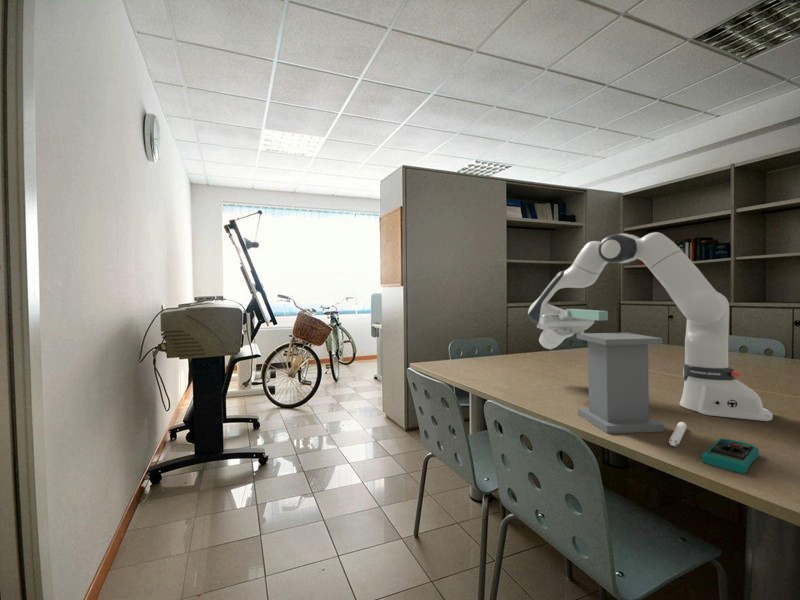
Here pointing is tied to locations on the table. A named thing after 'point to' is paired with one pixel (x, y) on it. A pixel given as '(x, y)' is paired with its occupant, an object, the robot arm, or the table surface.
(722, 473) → the table surface
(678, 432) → the white rod
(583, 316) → the bar
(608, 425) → the stand
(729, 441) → the digital multimeter
